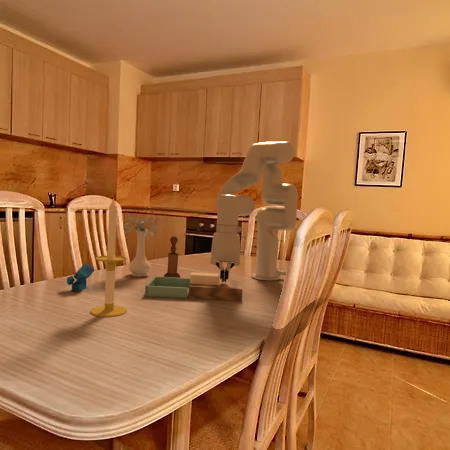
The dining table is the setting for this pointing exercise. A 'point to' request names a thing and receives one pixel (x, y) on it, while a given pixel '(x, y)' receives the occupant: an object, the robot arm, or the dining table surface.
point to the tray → (168, 287)
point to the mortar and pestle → (172, 260)
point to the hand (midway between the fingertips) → (223, 281)
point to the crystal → (80, 277)
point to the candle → (110, 270)
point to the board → (217, 290)
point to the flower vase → (140, 244)
